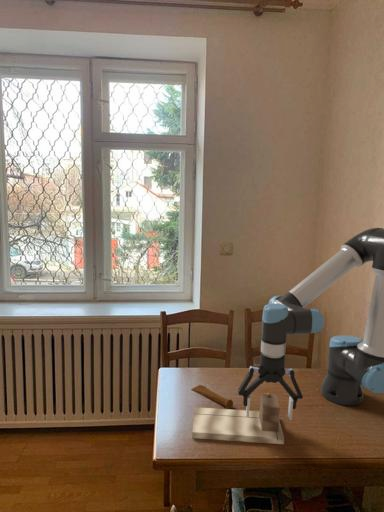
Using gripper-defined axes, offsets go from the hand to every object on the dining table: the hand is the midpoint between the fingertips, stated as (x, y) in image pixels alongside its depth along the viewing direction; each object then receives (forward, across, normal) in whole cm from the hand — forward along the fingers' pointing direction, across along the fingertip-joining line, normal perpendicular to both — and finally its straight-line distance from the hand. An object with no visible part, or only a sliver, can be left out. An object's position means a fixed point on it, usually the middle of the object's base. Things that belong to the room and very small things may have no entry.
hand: (268, 416), depth 123 cm
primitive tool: (+5, +19, -18) cm, 26 cm away
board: (+5, +10, 0) cm, 11 cm away
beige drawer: (+3, 0, 0) cm, 3 cm away
